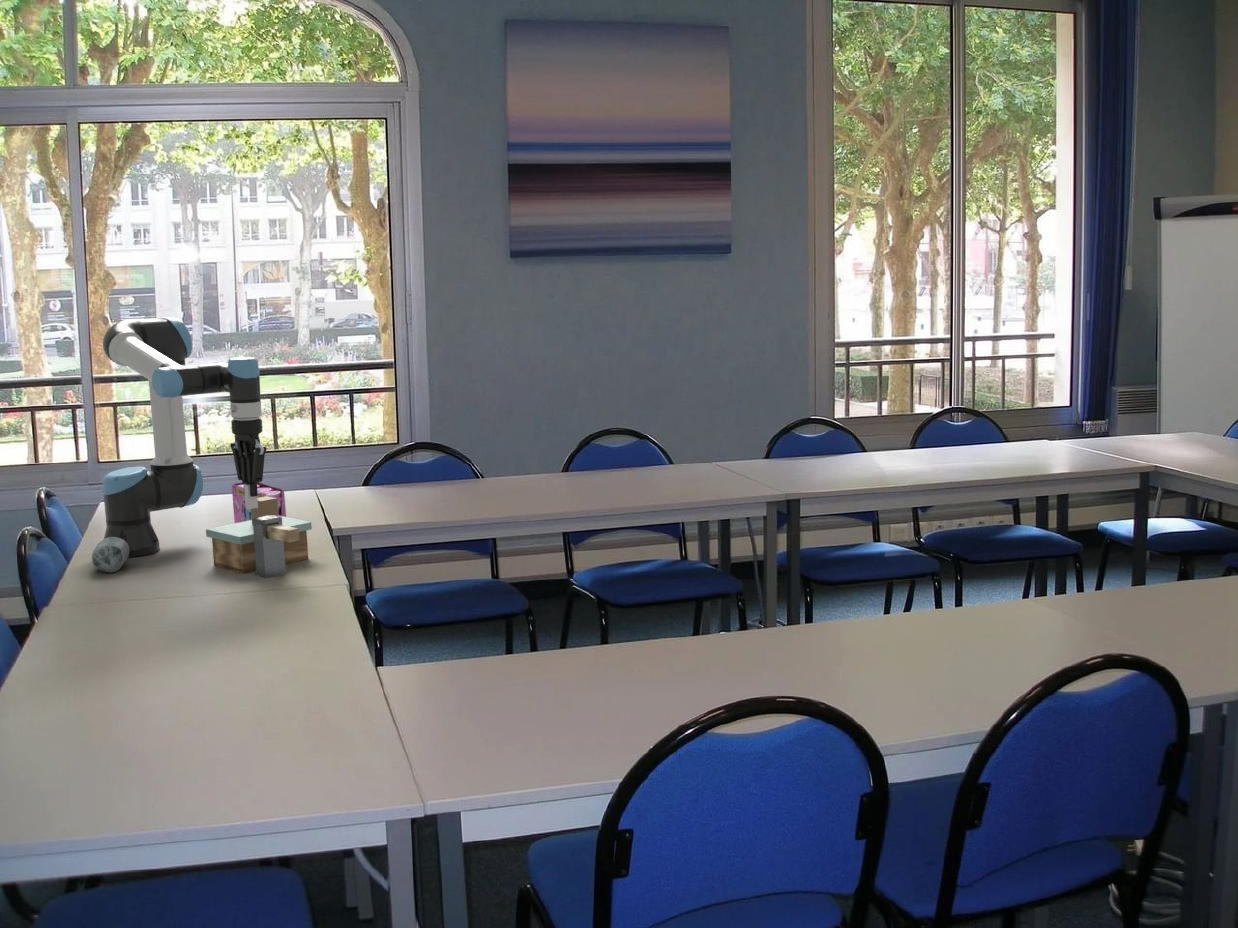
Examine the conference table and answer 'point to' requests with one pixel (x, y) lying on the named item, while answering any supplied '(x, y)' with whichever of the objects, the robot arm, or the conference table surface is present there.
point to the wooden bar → (282, 532)
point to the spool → (110, 554)
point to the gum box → (263, 490)
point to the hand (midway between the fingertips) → (251, 508)
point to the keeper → (268, 548)
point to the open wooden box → (253, 553)
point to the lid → (244, 530)
